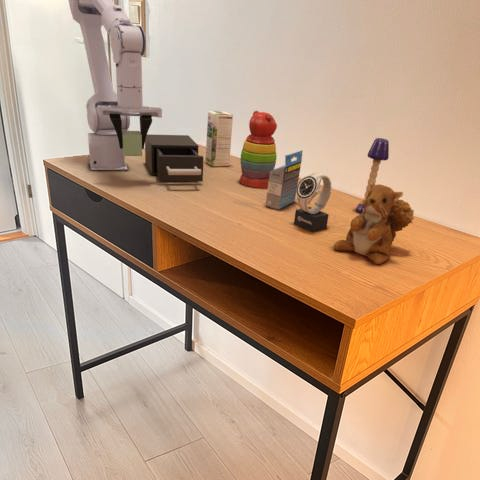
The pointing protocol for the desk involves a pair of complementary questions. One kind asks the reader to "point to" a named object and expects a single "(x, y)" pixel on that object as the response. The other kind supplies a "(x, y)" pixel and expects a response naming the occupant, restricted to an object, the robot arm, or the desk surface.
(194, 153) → the black drawer
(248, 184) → the stacking bear
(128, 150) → the block
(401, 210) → the stuffed squirrel
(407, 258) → the desk surface
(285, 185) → the label tape box
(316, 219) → the watch
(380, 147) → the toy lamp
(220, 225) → the desk surface
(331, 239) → the desk surface
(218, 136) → the syrup box
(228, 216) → the desk surface
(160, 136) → the small drawer cabinet
